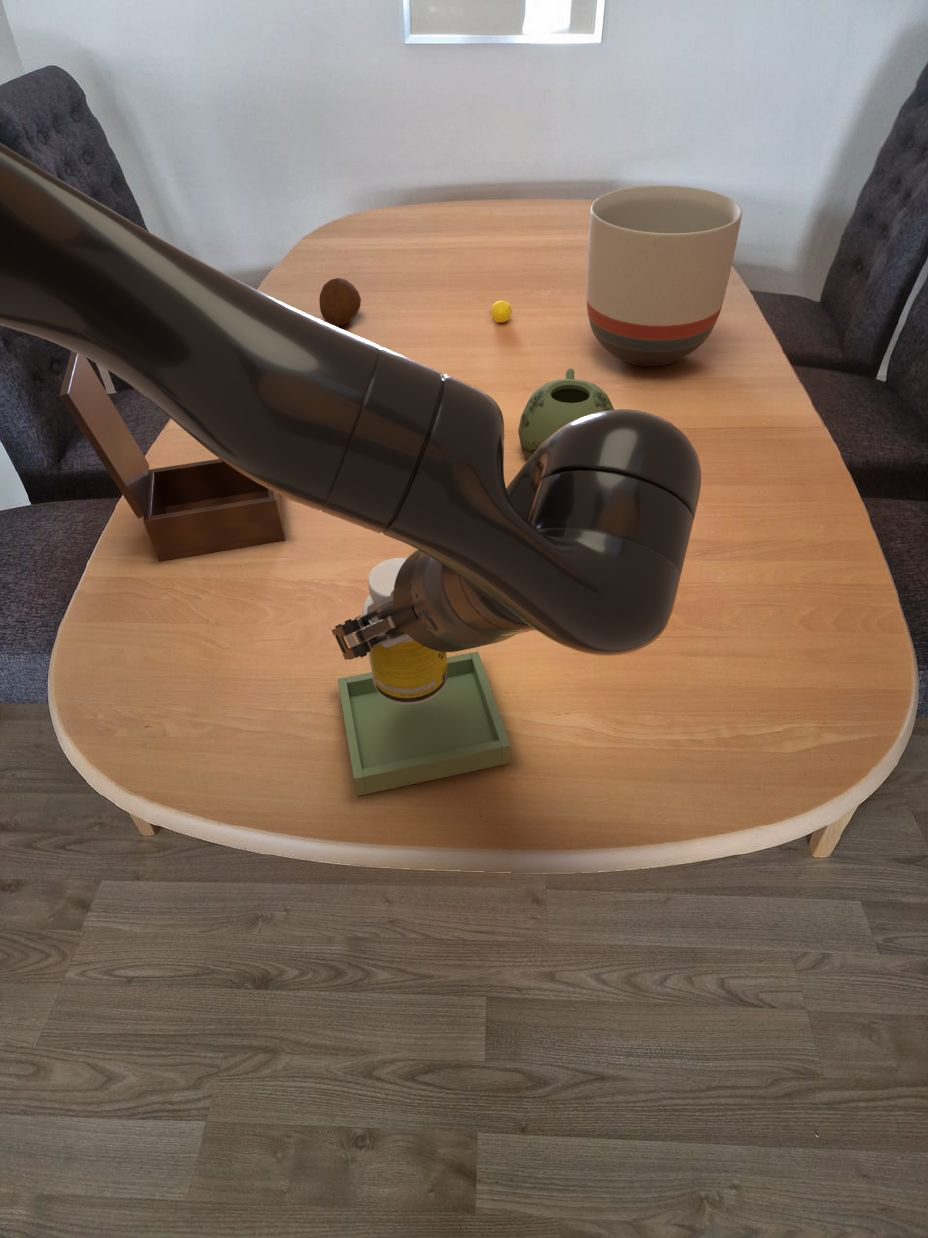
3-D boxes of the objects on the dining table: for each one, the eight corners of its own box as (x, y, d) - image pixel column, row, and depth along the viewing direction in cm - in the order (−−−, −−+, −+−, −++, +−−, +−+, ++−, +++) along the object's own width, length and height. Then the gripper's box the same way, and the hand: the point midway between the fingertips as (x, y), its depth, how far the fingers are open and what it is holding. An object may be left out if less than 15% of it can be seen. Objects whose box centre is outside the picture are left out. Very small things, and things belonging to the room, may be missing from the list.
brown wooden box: (279, 490, 103) (270, 450, 98) (285, 540, 95) (275, 499, 91) (161, 508, 100) (147, 469, 96) (158, 561, 93) (142, 521, 89)
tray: (357, 796, 69) (353, 778, 67) (341, 696, 77) (337, 678, 75) (510, 763, 71) (510, 745, 69) (478, 669, 79) (478, 651, 77)
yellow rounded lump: (495, 327, 134) (488, 305, 133) (493, 322, 140) (487, 301, 138) (515, 319, 134) (508, 298, 132) (512, 314, 139) (505, 294, 138)
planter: (696, 324, 133) (720, 181, 118) (729, 384, 118) (761, 230, 103) (572, 330, 133) (581, 188, 118) (590, 390, 118) (602, 237, 103)
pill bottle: (447, 708, 67) (439, 605, 59) (369, 709, 67) (351, 606, 59) (449, 651, 72) (442, 549, 64) (376, 652, 72) (361, 550, 64)
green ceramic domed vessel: (617, 480, 101) (625, 419, 95) (515, 477, 103) (515, 416, 97) (613, 415, 113) (619, 356, 107) (521, 413, 114) (522, 355, 108)
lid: (79, 345, 85) (71, 348, 85) (67, 393, 78) (59, 395, 78) (149, 464, 96) (142, 467, 96) (145, 516, 89) (137, 518, 89)
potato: (362, 305, 143) (357, 264, 138) (364, 330, 135) (358, 288, 131) (322, 308, 142) (316, 267, 138) (322, 333, 135) (315, 292, 130)
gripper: (536, 494, 53) (449, 544, 69) (342, 577, 48) (295, 611, 63) (582, 597, 54) (485, 624, 69) (395, 691, 48) (335, 697, 64)
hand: (394, 617), depth 66 cm, fingers closed on pill bottle, 6 cm apart
